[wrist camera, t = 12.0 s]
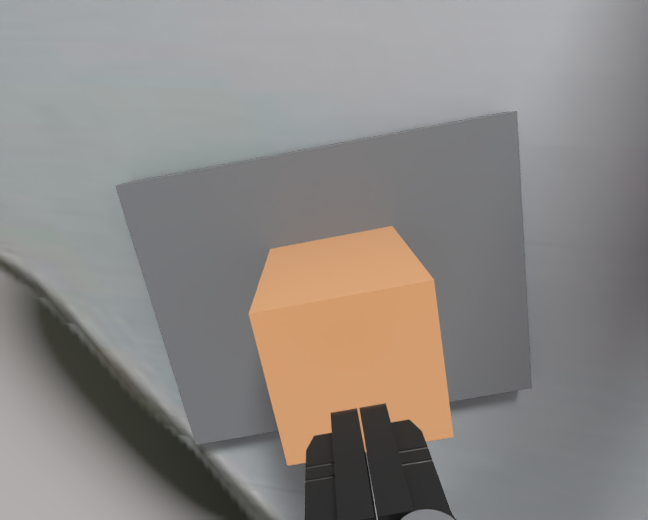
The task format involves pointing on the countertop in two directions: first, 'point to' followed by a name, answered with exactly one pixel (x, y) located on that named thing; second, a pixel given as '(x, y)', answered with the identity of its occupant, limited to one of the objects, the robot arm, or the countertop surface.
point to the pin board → (325, 222)
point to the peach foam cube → (349, 336)
